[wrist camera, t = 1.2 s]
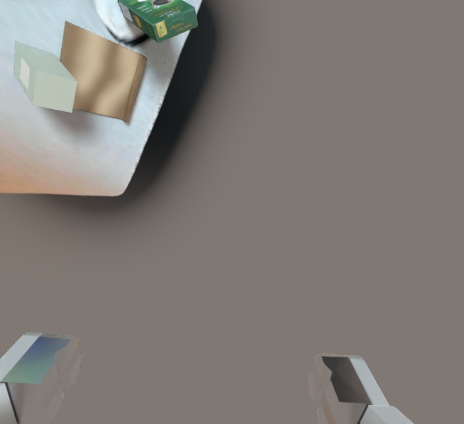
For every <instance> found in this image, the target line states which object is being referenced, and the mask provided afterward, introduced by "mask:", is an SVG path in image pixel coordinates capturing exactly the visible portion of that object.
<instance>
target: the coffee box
mask: <svg viewBox="0 0 464 424" xmlns="http://www.w3.org/2000/svg"><path fill="white" fill-rule="evenodd" d="M118 3H119V5H120V7H121V10H122V12H123V15H124V16H125V17H126V18H127V19H128V20H130V21H131V22H132V23H134V24H135V25H136V26H137V27H139V28H140V29H141V30H142V31H144V32H145V33H146V34H148V35H149V36H150V37H151V38H153V39H154V40H155V41H156V42H158V43H160V42H162V41H164V40H167V39H169V38H171V37H174V36H176V35H178V34H181V33H183V32H186V31H188V30H190V29H192V28H195V27H197V26H198V24H197V18H196V11H195V7H193V6H191V5H190V4H188V3H186V2H184V1H182V0H118Z"/></svg>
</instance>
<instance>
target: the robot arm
mask: <svg viewBox="0 0 464 424" xmlns="http://www.w3.org/2000/svg"><path fill="white" fill-rule="evenodd" d="M78 346H79V339H78V337H77V336H68V335H58V334H48V333H36V332H28V333H26V334H24V335H23V336H21V338H20V339H19V340H18V341H17V342H16V343H15V344H14V345H13V346H12V347H11V348H10V349H9V350H8V352H7V353H6V354H5V355H4V356H3V357H2V358H1V359H0V424H50V423H51V422H52V420H53V418H54V416H55V415H56V413H57V411H58V409H59V408H60V406H61V404H62V403H63V393H64V392H65V391H66V390H68V389H69V388H70V387H71V386H72V385H73V383H74V382H75V380H76V378H77V376H78V373H79V370H80V367H81V360H82V358H81V353H80V352H79V351H78V350H77V347H78ZM314 364H315V366H314V367H313V368H312V369H310V373H309V377H308V386H309V392H310V396H311V399H312V401H313V402H314V404H315V405H316V406H317V407H318V408H319V409H318V412H317V415H316V416H317V420H318V423H319V424H413V423H412V422H411V421H410V420H409V419H408V418H407V417H405V416H404V415H403V414H402V413H401V412H400V411H399V410H397V409H396V408H395V407H392V406H389V404H388V402H387V400H386V399H385V397H384V395H383V393H382V392H381V390H380V388H379V386H378V385H377V383H376V381H375V379H374V377H373V376H372V374H371V372H370V370H369V369H368V367H367V365H366V363H365V362H364V360H363V358H361V357H360V356H351V355H342V354H325V353H324V354H323V353H317V354H316V355H315V357H314Z"/></svg>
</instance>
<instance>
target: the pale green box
mask: <svg viewBox="0 0 464 424" xmlns="http://www.w3.org/2000/svg"><path fill="white" fill-rule="evenodd" d="M13 74H14V75H15V77H16V79H17V80H18V82H19V84H20V85H21V87H22V88H23V90H24V92H25V93H26V95H27V96H28V98H29V100H30V101H31V103H32V105H34V106H39V107H45V108H50V109H55V110H60V111H65V112H70V113H72V109H73V103H74V98H75V92H76V86H77V81H76V79H75V78H74V77H73V76H72V75H71V74H70V72H69V71H68V70H67V69H66V68H65V67H64V65H63V64H62V63H61V62H60V61H59V60H58V58H57V57H56V56H55V55H54V54H53V53H50V52H47V51H44V50H41V49H38V48H35V47H32V46H29V45H26V44H23V43H20V42H17V41H15V54H14V71H13Z"/></svg>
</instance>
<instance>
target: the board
mask: <svg viewBox="0 0 464 424" xmlns="http://www.w3.org/2000/svg"><path fill="white" fill-rule="evenodd" d="M146 61H147V58H146V57H145V56H143V55H141V54H139V53H137V52H134V51H132V50H130V49H128V48H125V47H123V46H121V45H119V44H116V43H114V42H112V41H110V40H107V39H105V38H103V37H101V36H98V35H96V34H94V33H92V32H89V31H87V30H85V29H83V28H80V27H78V26H76V25H73V24H71V23H69V22H67V21H65V28H64V35H63V42H62V49H61V57H60V62H61V63H62V64H63V65H64V67H65V68H66V69H67V70H68V71H69V72H70V74H71V75H72V76H73V77H74V78H75V79H76V81H77V86H76V92H75V98H74V103H73V109H78V110H82V111H87V112H92V113H97V114H102V115H107V116H111V117H116V118H121V119H123V120H124V121H125V122H129V118H130V115H131V112H132V108H133V105H134V102H135V98H136V95H137V92H138V88H139V85H140V82H141V78H142V75H143V71H144V68H145V65H146Z"/></svg>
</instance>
